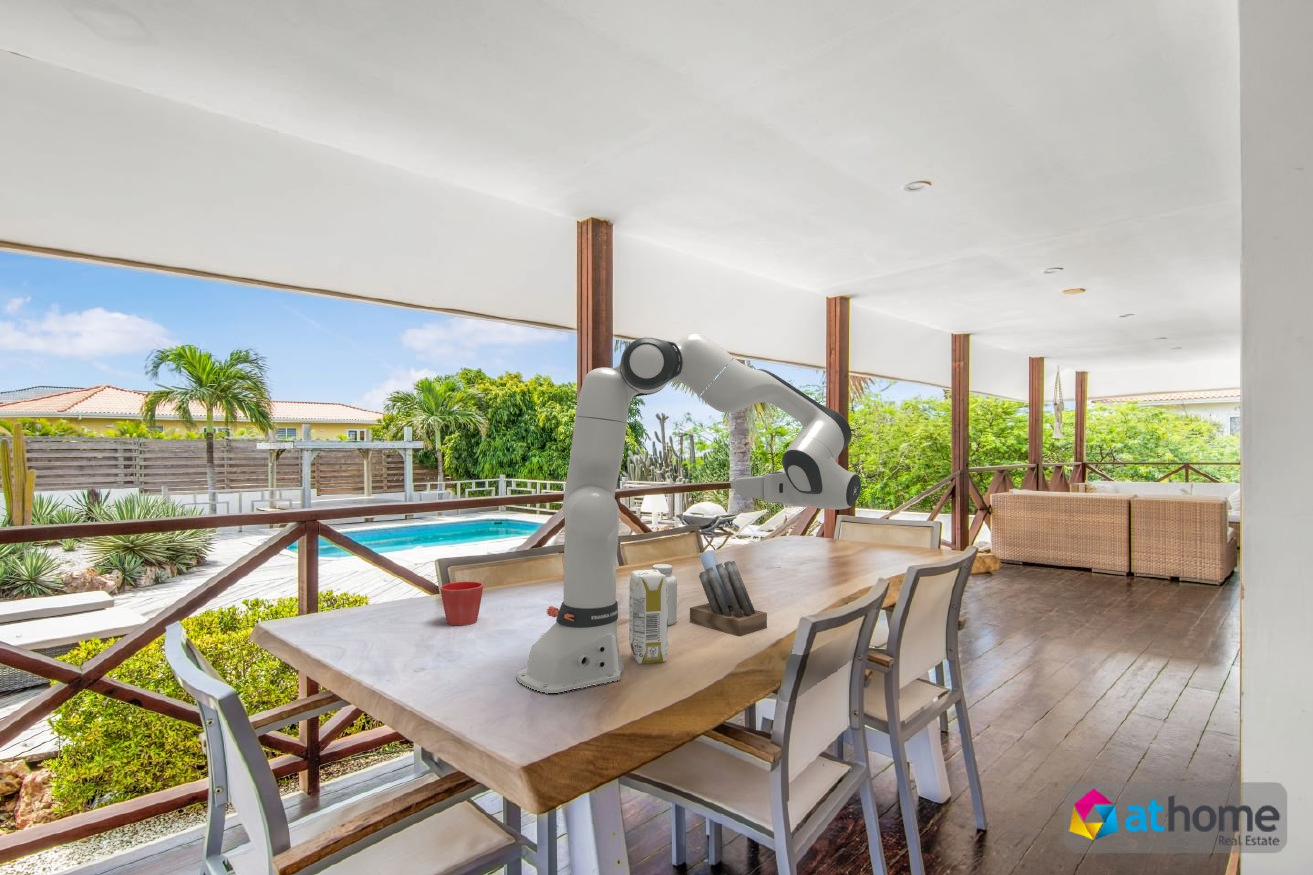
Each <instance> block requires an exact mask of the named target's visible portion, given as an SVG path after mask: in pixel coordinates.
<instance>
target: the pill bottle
mask: <svg viewBox="0 0 1313 875" xmlns="http://www.w3.org/2000/svg"><path fill="white" fill-rule="evenodd" d="M651 570H658V571H659V572H660V573H661V574H664V575H666V580H667V585H668V626H670V625H674V624H676V623H677V616H678V615H677V614H678V613H677V612H678V611H677V610H678V580H677V578H676V576H675V575H673V566H672V565H671V564H667V563H656V564H653V565H652V569H651Z"/></svg>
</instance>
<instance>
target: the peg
mask: <svg viewBox="0 0 1313 875" xmlns="http://www.w3.org/2000/svg"><path fill="white" fill-rule="evenodd" d="M698 556H699V560H700V561H701V565H702V566H703V567H702V568H703V569H704V571H706V569H708V568H711V567H713V570H714V572H715V575H716V577H717V580H718V583H719V585H720V588H721V590H722V593H723V595H724V598H725V600H726V603H727V606H728V607H730V606H731V604H730V602H729V599H728V597H727V594H726V591H725V589H724V586H723V584H722V581H721V579H720V576H719V574H718V571H717V569H716V565H718V564H719V563H718V560H717V558H716V555H715V552H714V551H713V549H711V550H707V551H705V552H703V553H701V554H699V555H698ZM706 572H707V571H706ZM707 575H708V573H707ZM708 577H709V576H708ZM709 580H710V579H709ZM710 583H711V581H710ZM711 585H712V584H711ZM712 588H713V586H712ZM713 590H714V589H713ZM714 593H715V592H714ZM715 595H716V594H715ZM716 598H717V597H716ZM717 601H718V599H717ZM718 603H719V602H718ZM719 606H720V604H719ZM720 608H721V607H720Z"/></svg>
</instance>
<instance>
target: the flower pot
mask: <svg viewBox="0 0 1313 875" xmlns="http://www.w3.org/2000/svg"><path fill="white" fill-rule="evenodd" d="M483 590H484V583H482V582H478V581H454V582H450V583H446V584H443V585H441V586H440V594H441V601H442V605H443V610H444V615H445V616H444V617H445V621H446V623H447V625H449V624H450V626H467V625H472V624H475V623H476V622H478V618H479V614H480V613H479V612H480V607H481V602H482V596H483Z"/></svg>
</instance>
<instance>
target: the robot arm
mask: <svg viewBox="0 0 1313 875" xmlns="http://www.w3.org/2000/svg"><path fill="white" fill-rule="evenodd" d="M621 354H622V355H621V357H620V363H619V364H618V365H617V366H614V367H597V368H594V369H592V370H590V371H588V373H587V374H586V375H585V377H584V380H583V382H582V385H581V389H580V392H579V395H578V399H577V404H576V409H575V410H576V411H575V418H574V425H573V432H572V433H573V434H572V441H571V448H570V456H569V461H568V462H569V463H568V469H567V475H566V481H565V487H564V494H563V502H562V514H563V517H564V541H563V542H564V546H563V549H564V550H563V552H564V553H563V601H562V602H561V605H560V607H559V608H557V607H554V606H552V605H550V606H548V607H547V609H546V615H547V616H549V617H552V618H556V619H555V623H554V624H553V625H552V626H550V628H549V629H548V630H547V631H546V632H545V633H544V634H543V635H542V636H541V637H540V638H539V639H538V640H537V641H536V642H535V643H534V644H532V646H531V648H530V651H529V654H528V660H527V661H528V663H527V667H524V668H523V669H520V670H517V671H516V681H517V682H519V683H520V684H521V683H522V684H523V686H524V685H525V686H524V687H526V686H527V687H526V688H528V687H529V688H528V689H530V688H531V689H530V690H532V689H534V690H533V691H535V690H537V691H536V692H538V691H540V692H539V693H542V692H545V693H544V694H548V693H557V692H563V691H565V690H569V689H574V688H578V687H584V686H588V685H593V684H598V683H604V684H608V683H607V682H609V683H612V681H614V682H617V680H618V681H620V680H621V679H620V678H621V673H622V672H623V671H624V668H625V667H624V664H623V662H622V661H623V660H622V657H621V653H620V646H619V640H618V639H619V638H618V629H617V627H618V626H617V623H618V619H619V604H618V603H619V602H618V601H617V590H616V589H617V556H618V544H619V533H620V532H619V529H620V507H619V504H618V502H617V500H616V498H615V496H616V491H617V484H618V479H619V475H620V470H621V468H622V467H621V466H622V463H623V459H624V451H625V449H624V448H625V443H626V442H625V441H626V436H627V435H626V434H627V427H628V420H629V409H630V405H631V403H632V400H633V398H637V397H642V396H643V397H644V396H650V395H654V394H656V393H658V392H660V391H662V390H663V389H664V388H665V387H666V386H667V385H668V384H669V383H670V382H677V383H681V384H684V385H685V386H686V387H689V389H691V390H692V391H693V392H694V393H695V394H696V395H697V396H698V397H699V398H700V399H702V401H704V403H706V404H707V405H708V406H709V407H711V408H713V409H714V410H716V411H717V412H721V413H737V412H740V411H743V410H745V409H748V408H749V407H752V406H753V405H757V404H759V403H760V404H761V403H767V404H771V405H773V406H776V407H777V408H778V409H780V410H781V411H783V412H785V413H786V414H787V415H789V416H790V417H793V419H795V420H796V421H798V422H799V424H801V425H802V426H801V429H800V431H799V432H798V433H797V434H796V436H795V438H793V440H792V441H791V443H790V444H789V446H788V447H787V448H786V449H785V451H784V453H783V455H782V459H781V462H782V463H781V465H782V468H781V469H778V470H776V471H773V472H768V473H764V475H758V476H757V475H756V476H746V477H738V478H736V479H735V480H731V481H730V488H731V489H734V492H735V494H736V495H738V496H740V497H741V496H742V497H745V498H750V499H757V500H763V501H764V502H765V503H768V504H780V505H783V506H788V507H797V508H798V507H799V508H800V507H801V508H807V507H813V508H815V509H816V508H817V509H821V510H846V509H849V508H852V507H853V506H854V505H855V504H856V503H857V501H858V498H859V497H860V495H861V488H862V481H861V478H860V475H859V474H858V473H856V472H854V471H849V470H847V469H845V468H844V467H843V466H841V465H840V464H838V463H837V461H836V460H837V459H838V457H839V455H840V454H841V453H842V452H843V451H844V450H845V448H847V446H848V445H849V444H850V442H851V441H852V436H853V434H852V429H851V425H850V424H849V422H848V420H847V419H846V418H845V416H843V415H842V414H841V413H840V412H838V411H836V410H834V409H832V408H829V407H827V406H825V405H823V404H821V403H819V402H817V401H816V400H815V399H813V398H812V397H811V396H809V395H807V394H805V393H804V392H803V391H801V390H800V389H798V388H797V387H795V386H793V384H790V383H789V382H788V381H786V380H785V379H783V378H781V377H779V376H778V375H776V374H774V373H773V372H771V371H770V370H766V369H764V368H763V369H762V368H757V369H755V368H753V367H751V366H747V365H746V364H743V363H742V362H740V361H739V360H738V359H737V358H735V357H734V356H733V355H732V354H731V353H729V352H728V351H727V350H726V349H724V348H723V347H721V345H719V344H717V343H716V342H714V341H712V340H711V339H709V338H708V337H706V336H704V335H702V334H700V333H697V332H696V333H695V332H692V333H688V334H686V335H685V336H683V337H681V338H680V339H679V340H678V341H677V342H676V343H675V342H674V341H669V340H664V339H659V338H654V337H641V338H637V339H635V340H633V341H632V342H630V343H629V344H628V345H627V346H626V347H625V348H624V350H623V352H622V353H621ZM522 684H521V685H522ZM563 693H564V692H563Z"/></svg>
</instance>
